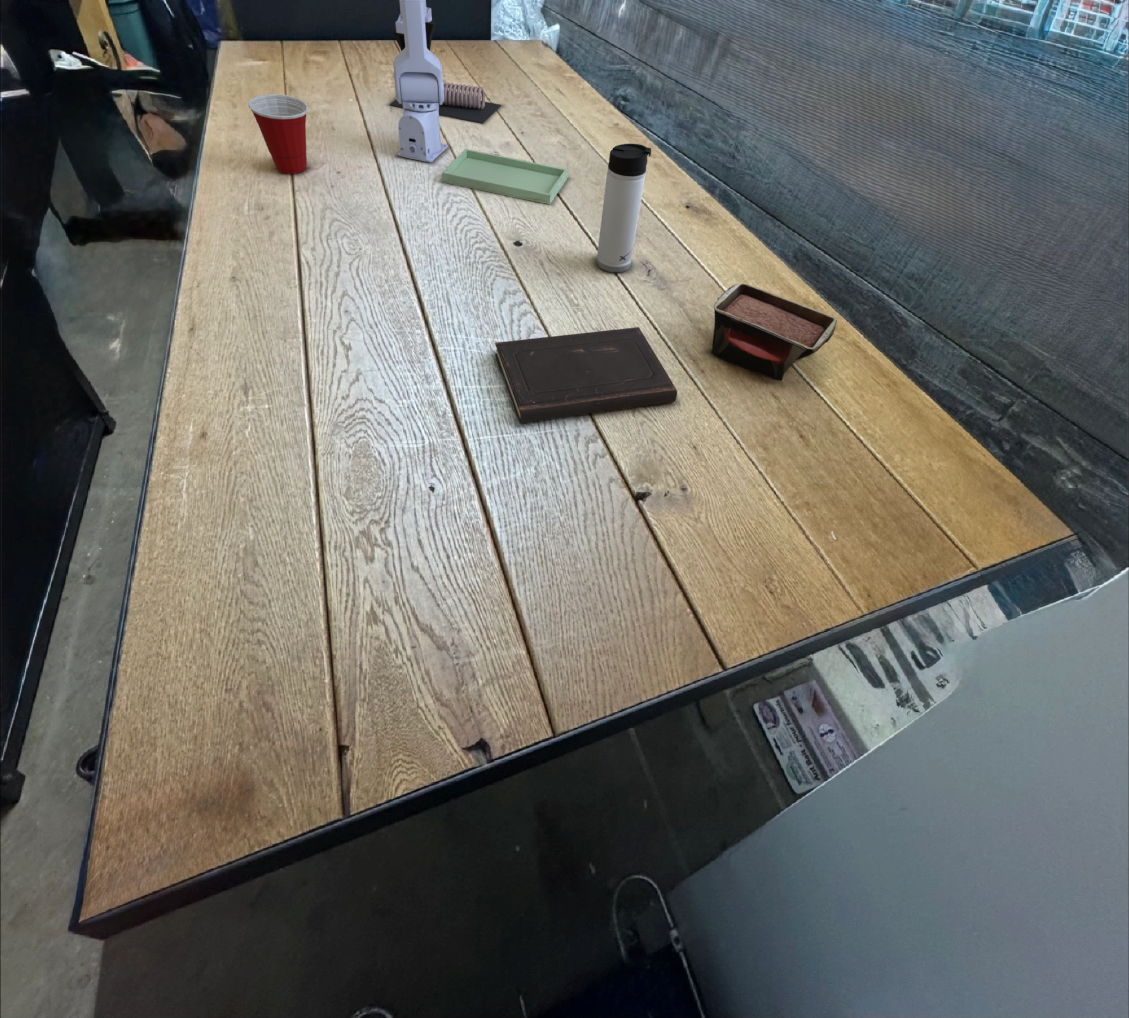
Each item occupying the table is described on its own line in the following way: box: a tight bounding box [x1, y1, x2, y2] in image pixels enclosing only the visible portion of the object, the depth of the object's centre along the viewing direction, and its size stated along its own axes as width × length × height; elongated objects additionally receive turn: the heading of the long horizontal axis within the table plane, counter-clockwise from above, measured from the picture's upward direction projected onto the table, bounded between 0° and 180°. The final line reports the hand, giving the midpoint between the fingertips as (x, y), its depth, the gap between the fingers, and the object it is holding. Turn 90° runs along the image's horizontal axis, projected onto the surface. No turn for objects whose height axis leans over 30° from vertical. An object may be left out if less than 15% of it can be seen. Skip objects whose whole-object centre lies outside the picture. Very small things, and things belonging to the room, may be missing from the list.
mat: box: [389, 99, 502, 125], centre depth 161 cm, size 13×24×1 cm, turn 74°
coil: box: [438, 81, 486, 109], centre depth 159 cm, size 5×5×18 cm
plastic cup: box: [247, 93, 309, 175], centre depth 128 cm, size 11×11×12 cm
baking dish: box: [710, 282, 838, 381], centre depth 101 cm, size 14×18×10 cm
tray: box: [441, 148, 569, 205], centre depth 136 cm, size 13×23×2 cm, turn 74°
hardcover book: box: [494, 326, 678, 424], centre depth 95 cm, size 16×23×2 cm
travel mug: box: [595, 143, 652, 273], centre depth 111 cm, size 6×7×20 cm
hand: (417, 62), depth 152 cm, fingers open, 7 cm apart
